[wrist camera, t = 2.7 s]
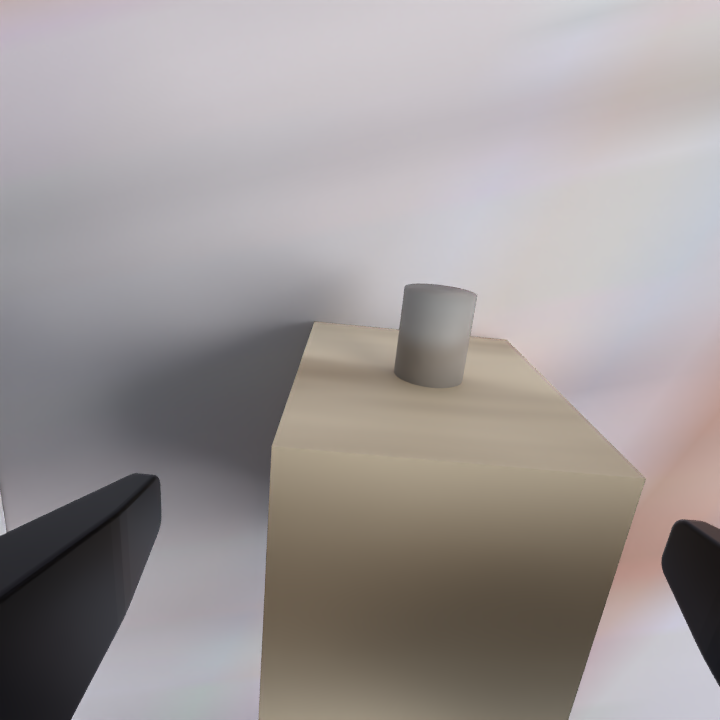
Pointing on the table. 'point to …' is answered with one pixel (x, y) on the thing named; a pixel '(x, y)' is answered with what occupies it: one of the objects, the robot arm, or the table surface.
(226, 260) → the table surface
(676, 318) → the table surface
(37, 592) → the robot arm
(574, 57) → the table surface
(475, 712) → the block
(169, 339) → the table surface
